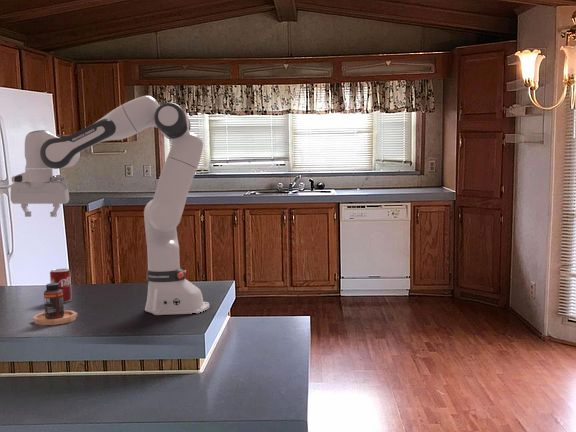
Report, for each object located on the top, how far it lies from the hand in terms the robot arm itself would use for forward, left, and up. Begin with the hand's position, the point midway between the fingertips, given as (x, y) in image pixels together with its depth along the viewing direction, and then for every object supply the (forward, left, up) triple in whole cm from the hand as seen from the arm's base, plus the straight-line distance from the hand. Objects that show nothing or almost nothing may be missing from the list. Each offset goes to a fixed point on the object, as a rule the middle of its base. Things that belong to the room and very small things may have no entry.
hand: (40, 216), depth 214 cm
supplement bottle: (-10, +13, -33) cm, 37 cm away
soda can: (+1, -14, -34) cm, 37 cm away
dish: (-11, +13, -34) cm, 37 cm away
